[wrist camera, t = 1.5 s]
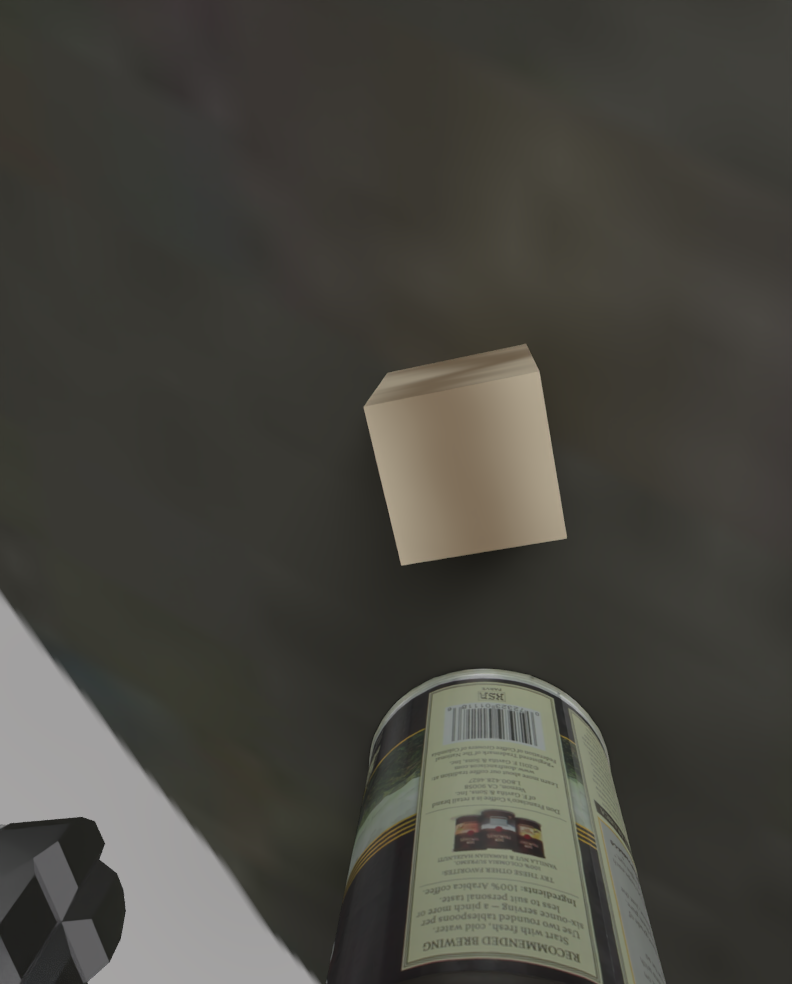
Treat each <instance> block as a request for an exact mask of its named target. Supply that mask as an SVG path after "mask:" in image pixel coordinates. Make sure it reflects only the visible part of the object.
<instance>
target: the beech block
mask: <svg viewBox="0 0 792 984" xmlns="http://www.w3.org/2000/svg"><path fill="white" fill-rule="evenodd" d="M364 411H365V415H366V419H367V424H368V428H369V432H370V436H371V440H372V445H373V449H374V453H375V457H376V461H377V465H378V470H379V474H380V478H381V482H382V486H383V491H384V495H385V499H386V503H387V507H388V512H389V516H390V520H391V524H392V528H393V532H394V537H395V541H396V545H397V549H398V553H399V558H400V562H401V566H402V565H408V564H414V563H420V562H426V561H432V560H438V559H444V558H450V557H457V556H463V555H469V554H475V553H481V552H487V551H493V550H499V549H505V548H512V547H518V546H524V545H530V544H536V543H542V542H548V541H554V540H560V539H567V535H566V529H565V523H564V517H563V511H562V505H561V499H560V493H559V487H558V481H557V475H556V469H555V463H554V457H553V451H552V445H551V439H550V432H549V426H548V420H547V414H546V408H545V402H544V396H543V390H542V384H541V378H540V372H539V370H538V368H537V365H536V363H535V361H534V359H533V357H532V355H531V353H530V351H529V349H528V347H527V345H526V344H523V345H519V346H514V347H509V348H504V349H500V350H495V351H490V352H485V353H480V354H476V355H471V356H466V357H461V358H456V359H452V360H447V361H442V362H437V363H433V364H428V365H423V366H418V367H413V368H409V369H404V370H399V371H394V372H389V373H387V374H386V376H385V377H384V379H383V380H382V382H381V383H380V384H379V386H378V387H377V389H376V390H375V391H374V393H373V394H372V396H371V397H370V398H369V400H368V401H367V403H366V404H365V406H364Z"/></svg>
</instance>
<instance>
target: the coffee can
mask: <svg viewBox="0 0 792 984" xmlns="http://www.w3.org/2000/svg"><path fill="white" fill-rule="evenodd" d="M326 984H666V982H665V978H664V975H663V971H662V967H661V963H660V960H659V956H658V952H657V948H656V945H655V941H654V937H653V933H652V929H651V925H650V922H649V918H648V914H647V910H646V906H645V903H644V899H643V895H642V891H641V887H640V883H639V879H638V875H637V871H636V867H635V864H634V860H633V856H632V852H631V849H630V845H629V841H628V837H627V833H626V829H625V825H624V821H623V818H622V814H621V810H620V806H619V802H618V799H617V795H616V791H615V787H614V783H613V779H612V775H611V771H610V761H609V756H608V751H607V748H606V745H605V743H604V740H603V738H602V735H601V732H600V730H599V728H598V727H597V725H596V724H595V723H594V722H593V720H592V719H591V718H590V716H589V715H588V713H587V712H586V711H585V710H584V709H583V708H582V707H581V706H580V705H579V704H578V703H577V702H576V701H575V700H574V699H572V698H571V697H570V696H569V695H567V694H566V693H564V692H563V691H561V690H560V689H558V688H557V687H555V686H553V685H551V684H549V683H547V682H545V681H543V680H540V679H538V678H535V677H533V676H531V675H528V674H522V673H518V672H512V671H507V670H501V669H469V670H462V671H456V672H452V673H448V674H445V675H442V676H439V677H435V678H432V679H430V680H428V681H426V682H425V683H423V684H421V685H420V686H418V687H416V688H414V689H412V690H411V691H409V692H408V693H407V694H406V695H404V696H403V697H402V698H401V699H399V700H398V701H397V702H396V703H395V704H394V705H393V707H392V708H391V709H390V710H389V711H388V713H387V714H386V715H385V717H384V718H383V720H382V721H381V723H380V725H379V727H378V729H377V731H376V733H375V735H374V738H373V741H372V745H371V750H370V758H369V770H368V774H367V781H366V786H365V791H364V795H363V801H362V806H361V811H360V817H359V822H358V827H357V832H356V838H355V843H354V848H353V853H352V858H351V863H350V868H349V873H348V878H347V883H346V888H345V893H344V898H343V903H342V908H341V912H340V917H339V922H338V928H337V933H336V938H335V941H334V945H333V952H332V955H331V959H330V965H329V971H328V975H327V981H326Z"/></svg>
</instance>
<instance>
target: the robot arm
mask: <svg viewBox="0 0 792 984" xmlns="http://www.w3.org/2000/svg"><path fill="white" fill-rule="evenodd" d="M104 844H105V843H104V841H103V839H102V836H101V834H100V832H99V830H98V827H97V825H96V823H95V822H94V821H92V820H89V819H86V818H83V817H77V818H67V819H55V820H44V821H32V822H22V823H10V824H8V825H0V984H88V983H87V982H88V981H89V980H90V979H91V978H92V977H93V976H95V975H96V974H97V973H98V972H99V971H100V970H101V969H102V968H103V967H105V966H106V965H107V964H108V963H109V962H110V960H111V958H112V956H113V953H114V952H115V949H116V947H117V945H118V943H119V941H120V939H121V933H122V929H123V923H124V917H125V912H126V910H125V901H124V892H123V888H122V886H121V883H120V880H119V878H118V875H117V873H116V872H114V871H113V870H112V869H111V868H109V867H108V866H107V865H105V864H104V863H103V862H101V861H100V860H99V859H100V856H101V853H102V850H103V847H104Z"/></svg>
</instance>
